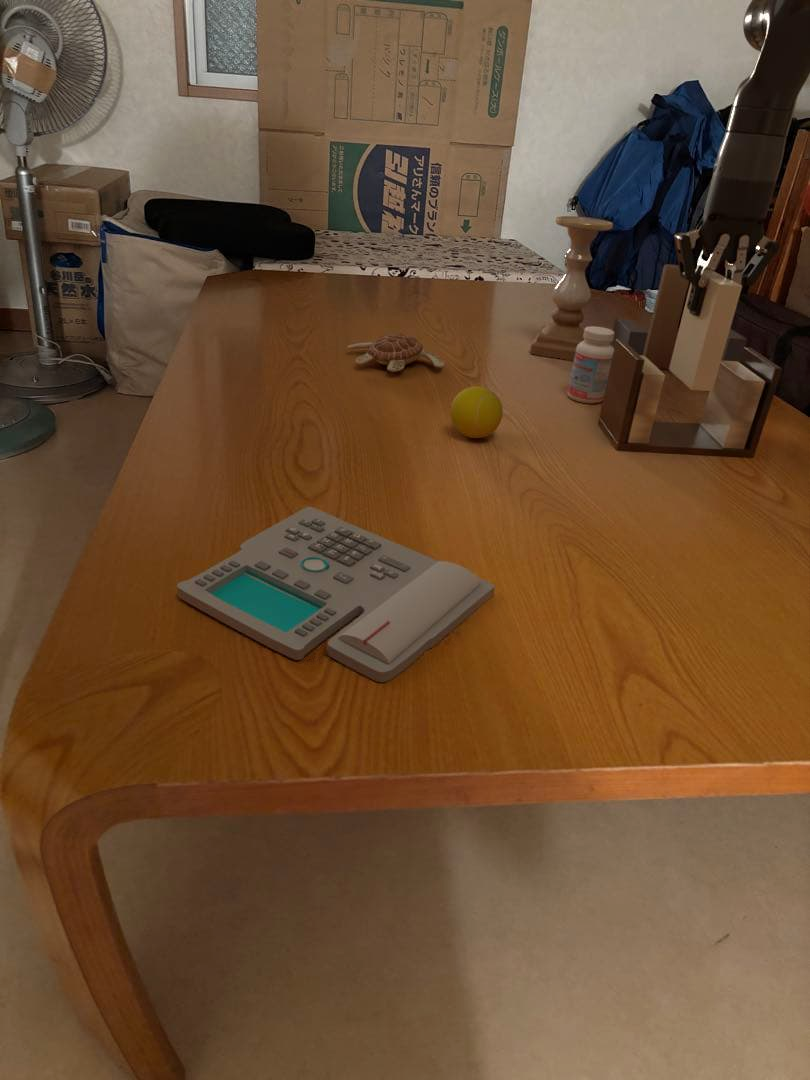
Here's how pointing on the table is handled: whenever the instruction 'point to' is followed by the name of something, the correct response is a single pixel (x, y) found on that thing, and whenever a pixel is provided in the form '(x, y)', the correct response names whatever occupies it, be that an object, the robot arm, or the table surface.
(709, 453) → the book rack
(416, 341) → the decorative turtle
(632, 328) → the grey books
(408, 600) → the office telephone
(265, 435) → the table surface
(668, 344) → the wooden block
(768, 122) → the robot arm
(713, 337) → the cream book
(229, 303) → the table surface
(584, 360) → the pill bottle
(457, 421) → the tennis ball
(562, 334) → the candle holder
